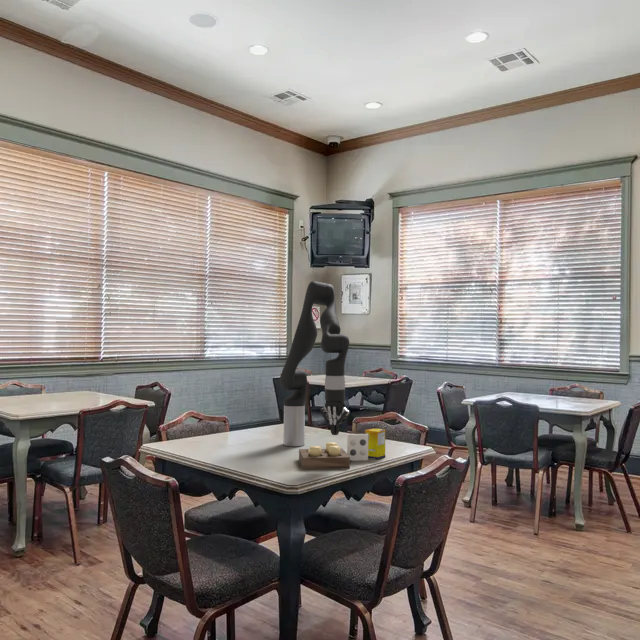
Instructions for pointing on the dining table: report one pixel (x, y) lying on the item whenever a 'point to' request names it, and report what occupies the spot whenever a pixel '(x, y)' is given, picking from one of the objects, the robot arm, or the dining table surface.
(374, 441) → the supplement box
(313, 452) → the button
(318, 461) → the button board
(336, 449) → the button
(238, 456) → the dining table surface
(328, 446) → the button
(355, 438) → the card
